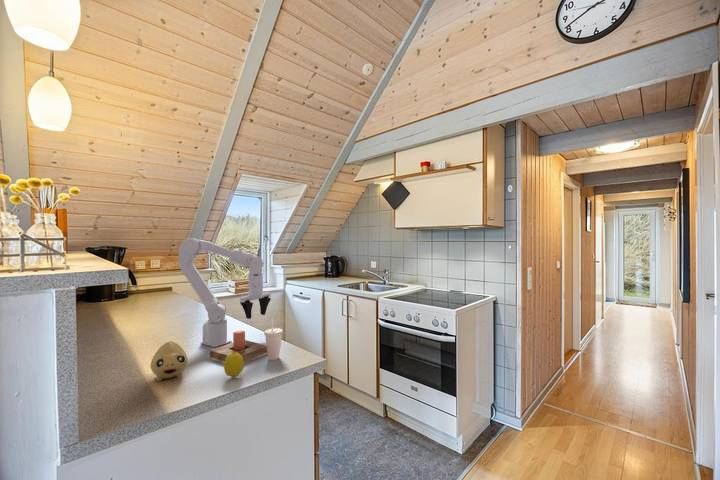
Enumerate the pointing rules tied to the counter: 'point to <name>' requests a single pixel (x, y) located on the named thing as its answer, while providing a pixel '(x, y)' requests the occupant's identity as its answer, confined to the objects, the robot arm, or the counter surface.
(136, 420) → the counter surface
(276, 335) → the smoothie
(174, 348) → the cream rounded figure
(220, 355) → the socket block
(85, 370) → the counter surface
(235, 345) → the reddish brown tall block
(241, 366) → the lemon
